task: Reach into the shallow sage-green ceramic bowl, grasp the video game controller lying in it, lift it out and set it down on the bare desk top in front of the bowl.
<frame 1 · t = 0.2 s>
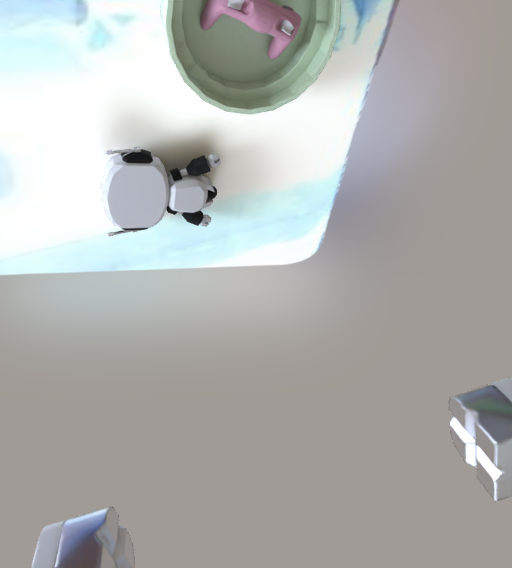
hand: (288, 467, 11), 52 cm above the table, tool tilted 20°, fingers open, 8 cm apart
bowl: (245, 13, 52), on the table
video game controller: (245, 14, 51), resting on bowl
robot toy: (159, 180, 63), on the table
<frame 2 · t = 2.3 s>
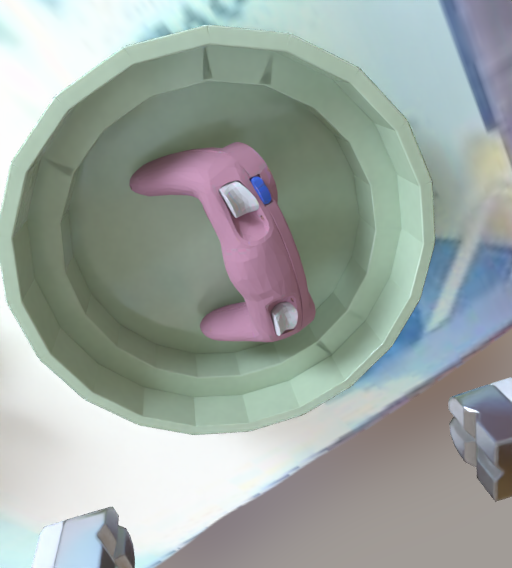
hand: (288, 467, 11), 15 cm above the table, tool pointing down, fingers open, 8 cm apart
bowl: (220, 230, 24), on the table
video game controller: (221, 232, 24), resting on bowl
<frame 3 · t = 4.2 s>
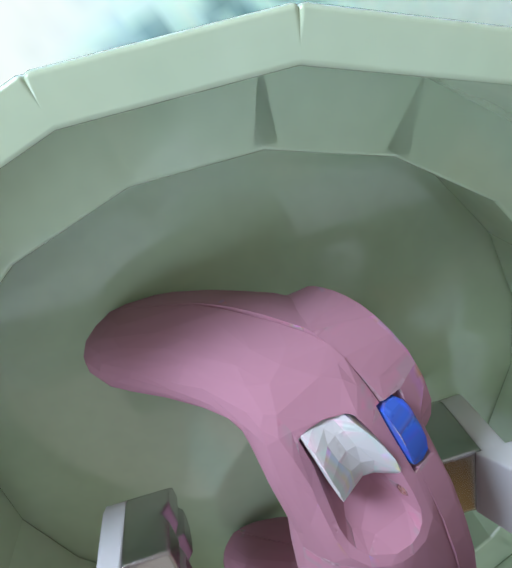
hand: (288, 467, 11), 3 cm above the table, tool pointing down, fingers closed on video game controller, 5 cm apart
bowl: (262, 396, 13), on the table
video game controller: (264, 403, 13), resting on bowl, touching gripper
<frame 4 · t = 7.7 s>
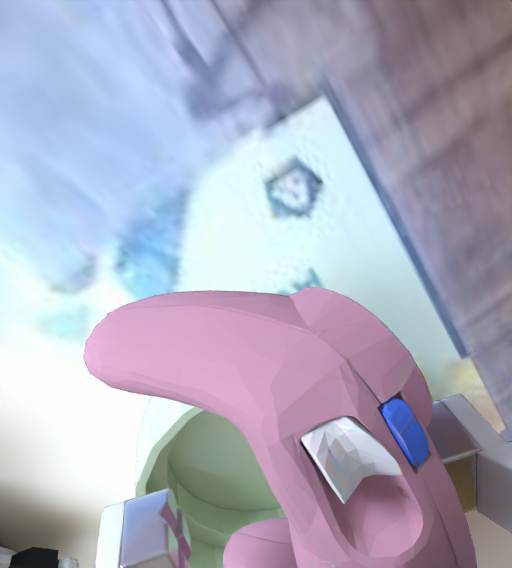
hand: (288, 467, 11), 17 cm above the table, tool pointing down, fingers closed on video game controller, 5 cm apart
bowl: (269, 432, 34), on the table
video game controller: (264, 404, 13), point 15 cm above the table, touching gripper
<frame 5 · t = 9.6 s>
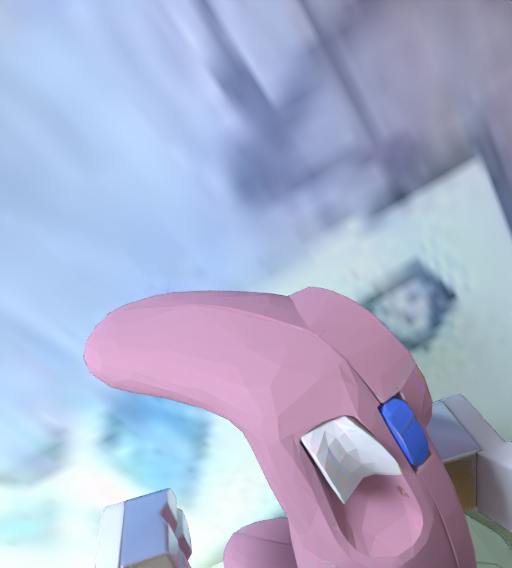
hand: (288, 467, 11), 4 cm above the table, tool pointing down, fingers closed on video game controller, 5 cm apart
video game controller: (264, 404, 13), point 2 cm above the table, touching gripper
when the fingers open (2 cm above the table, at t = 11.0 s): video game controller stays where it is, on the table.
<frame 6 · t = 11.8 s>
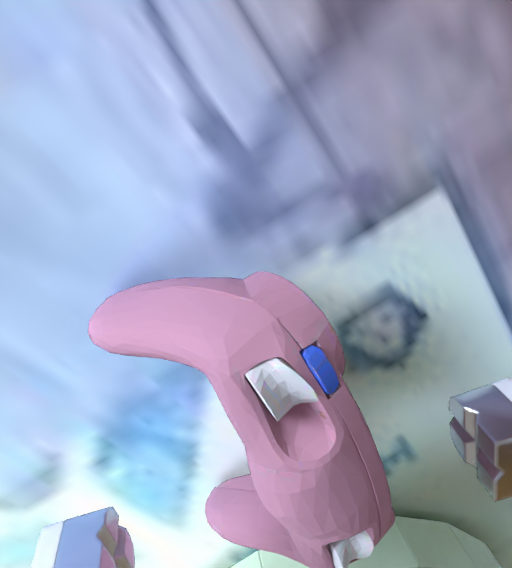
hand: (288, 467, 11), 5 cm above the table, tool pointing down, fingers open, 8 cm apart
video game controller: (235, 375, 16), on the table
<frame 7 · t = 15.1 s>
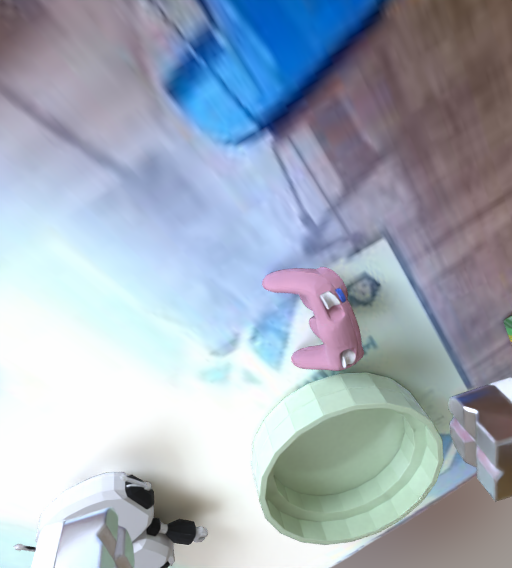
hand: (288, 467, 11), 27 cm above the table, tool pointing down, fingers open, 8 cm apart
bowl: (336, 441, 49), on the table
video game controller: (305, 305, 42), on the table
robot toy: (122, 508, 48), on the table
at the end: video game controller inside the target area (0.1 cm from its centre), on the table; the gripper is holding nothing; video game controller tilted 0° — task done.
